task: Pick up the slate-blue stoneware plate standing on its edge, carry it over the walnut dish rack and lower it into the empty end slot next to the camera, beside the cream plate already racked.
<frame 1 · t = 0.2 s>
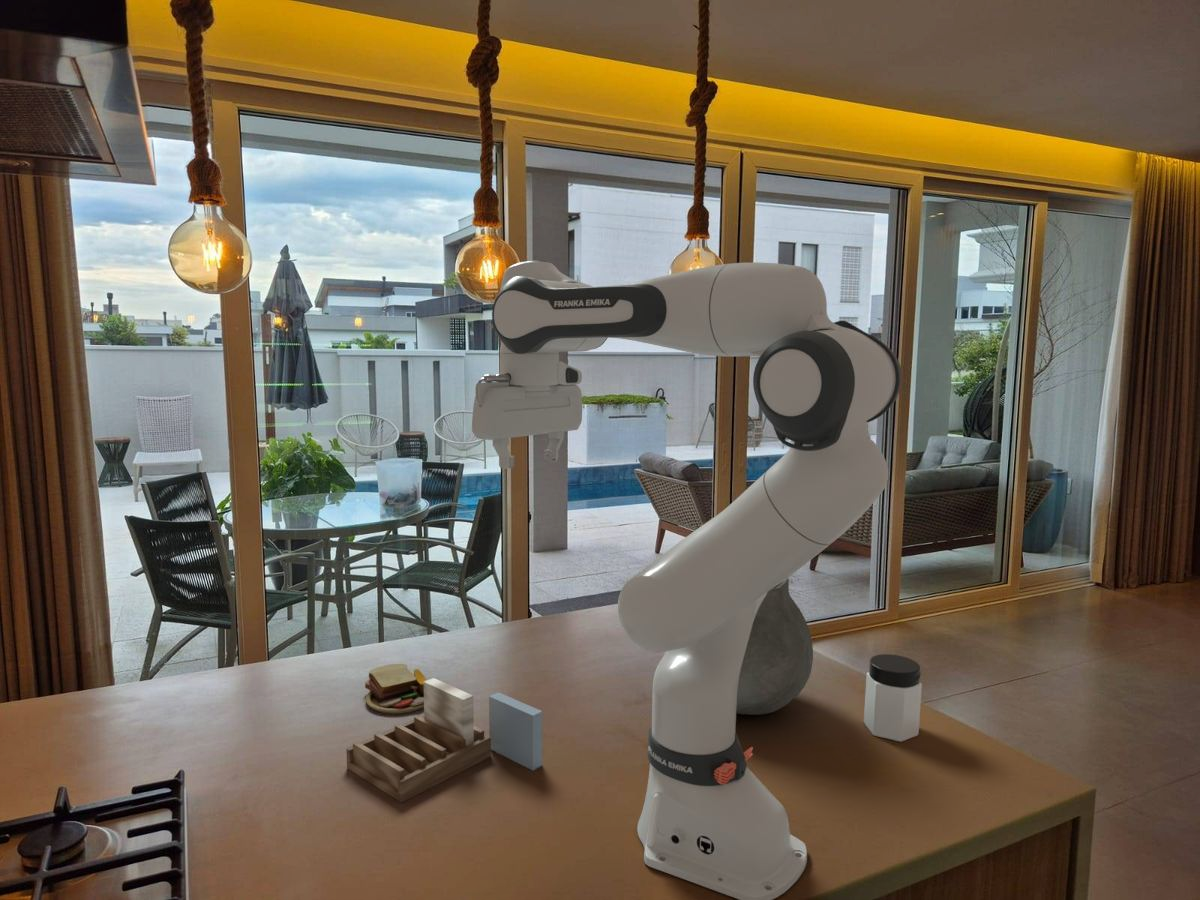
hand: (529, 464, 119), 47 cm above the counter, fingers open, 8 cm apart
ceramic pot: (741, 706, 144), on the counter
plate: (515, 757, 125), on the counter
rack: (420, 762, 123), on the counter
toy sandwich meal: (398, 701, 145), on the counter
jar: (890, 730, 135), on the counter
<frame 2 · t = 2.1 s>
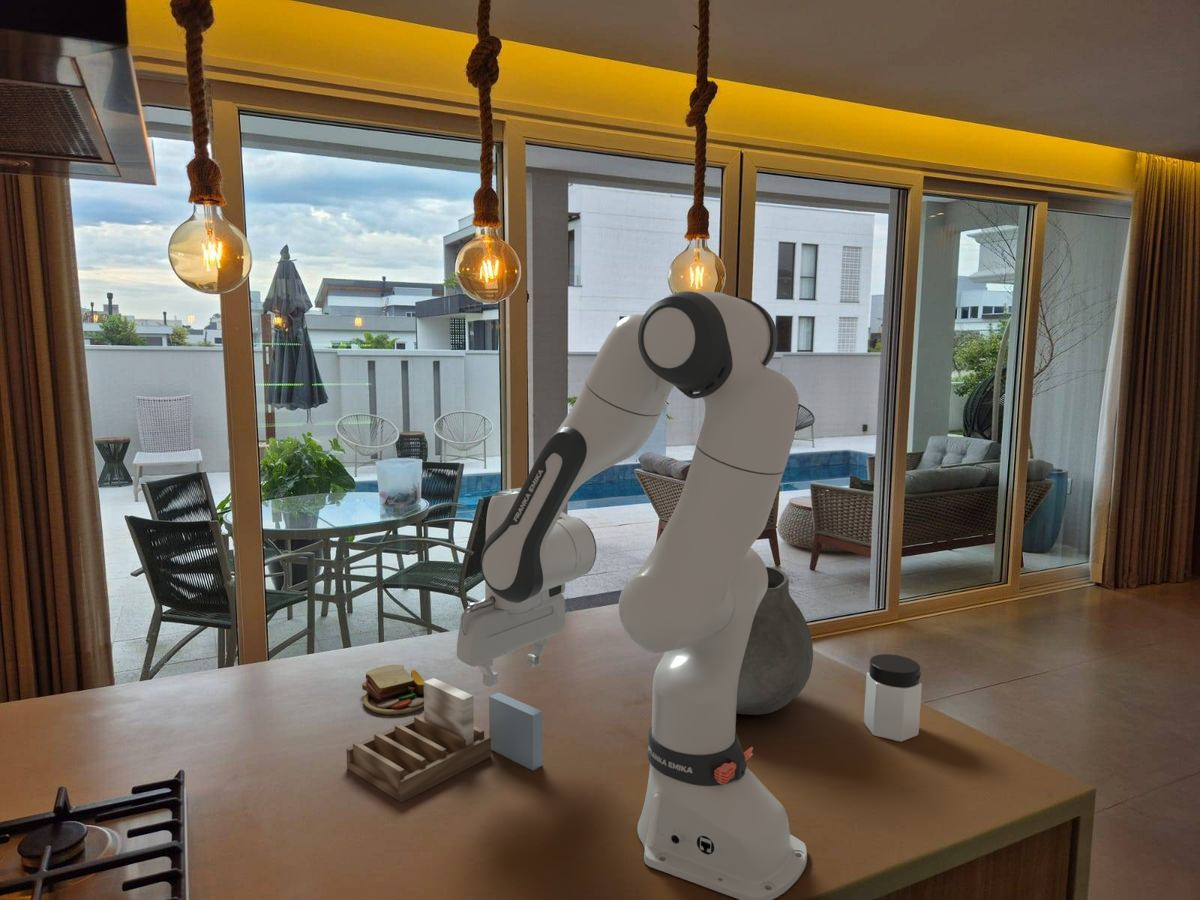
hand: (512, 674, 123), 14 cm above the counter, fingers open, 8 cm apart
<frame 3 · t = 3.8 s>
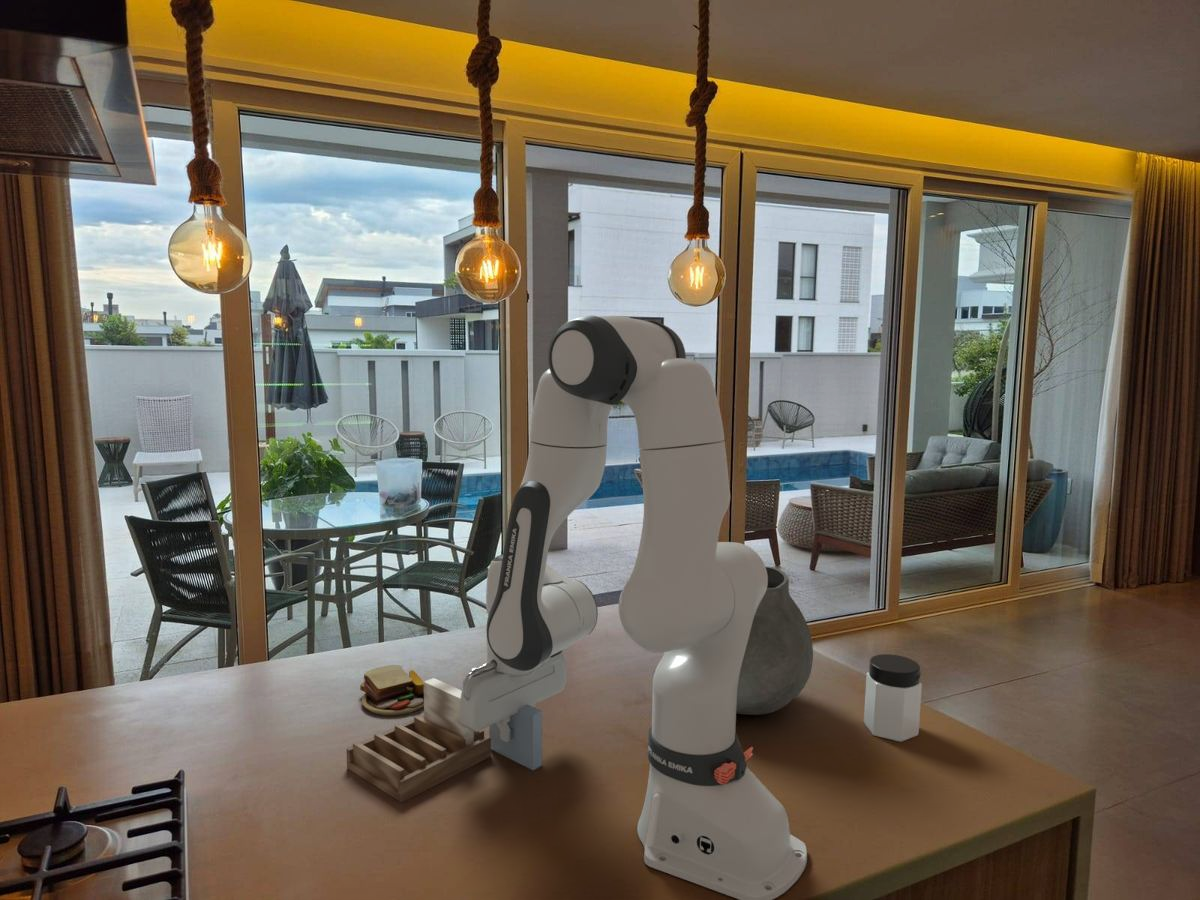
hand: (515, 735, 125), 4 cm above the counter, fingers closed on plate, 2 cm apart
plate: (515, 756, 125), on the counter, touching gripper
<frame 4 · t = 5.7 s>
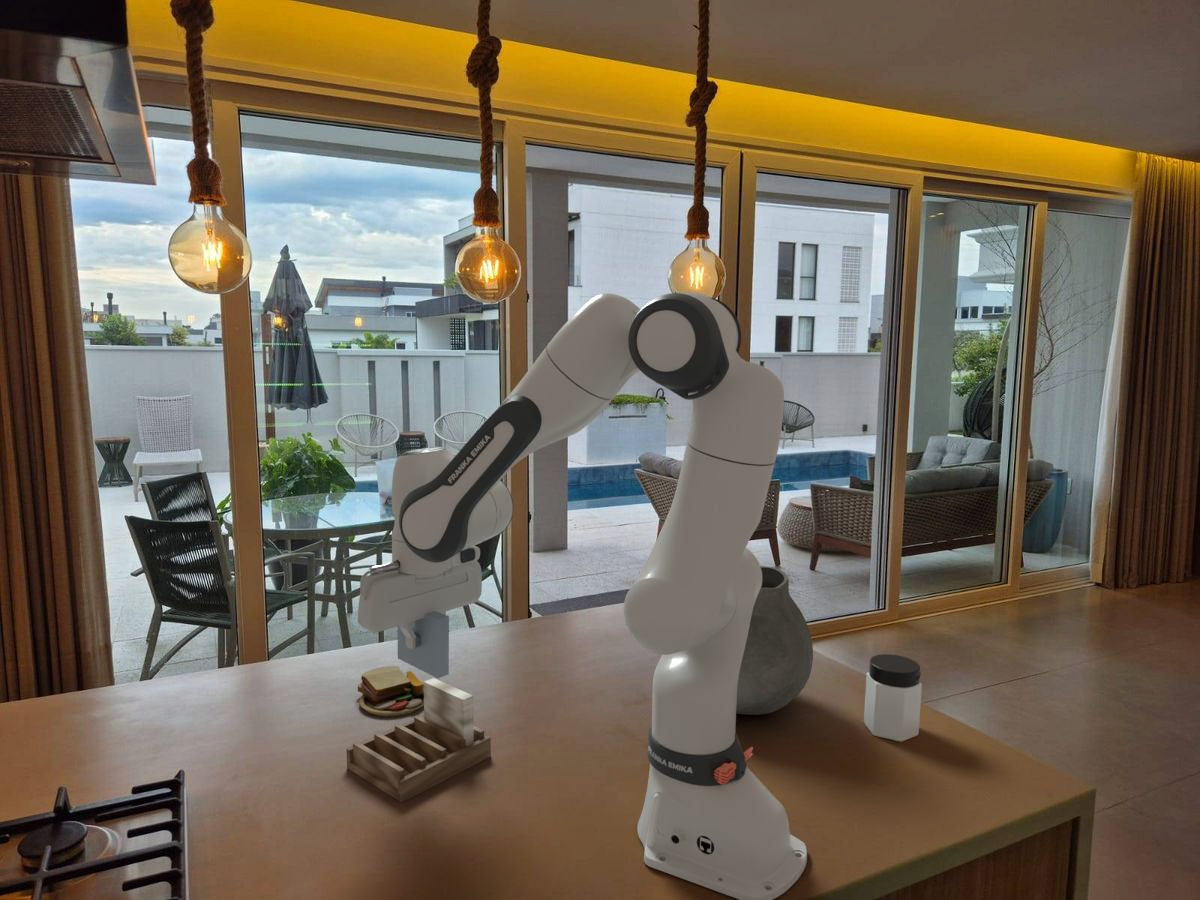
hand: (422, 643, 118), 20 cm above the counter, fingers closed on plate
plate: (422, 666, 119), point 17 cm above the counter, touching gripper
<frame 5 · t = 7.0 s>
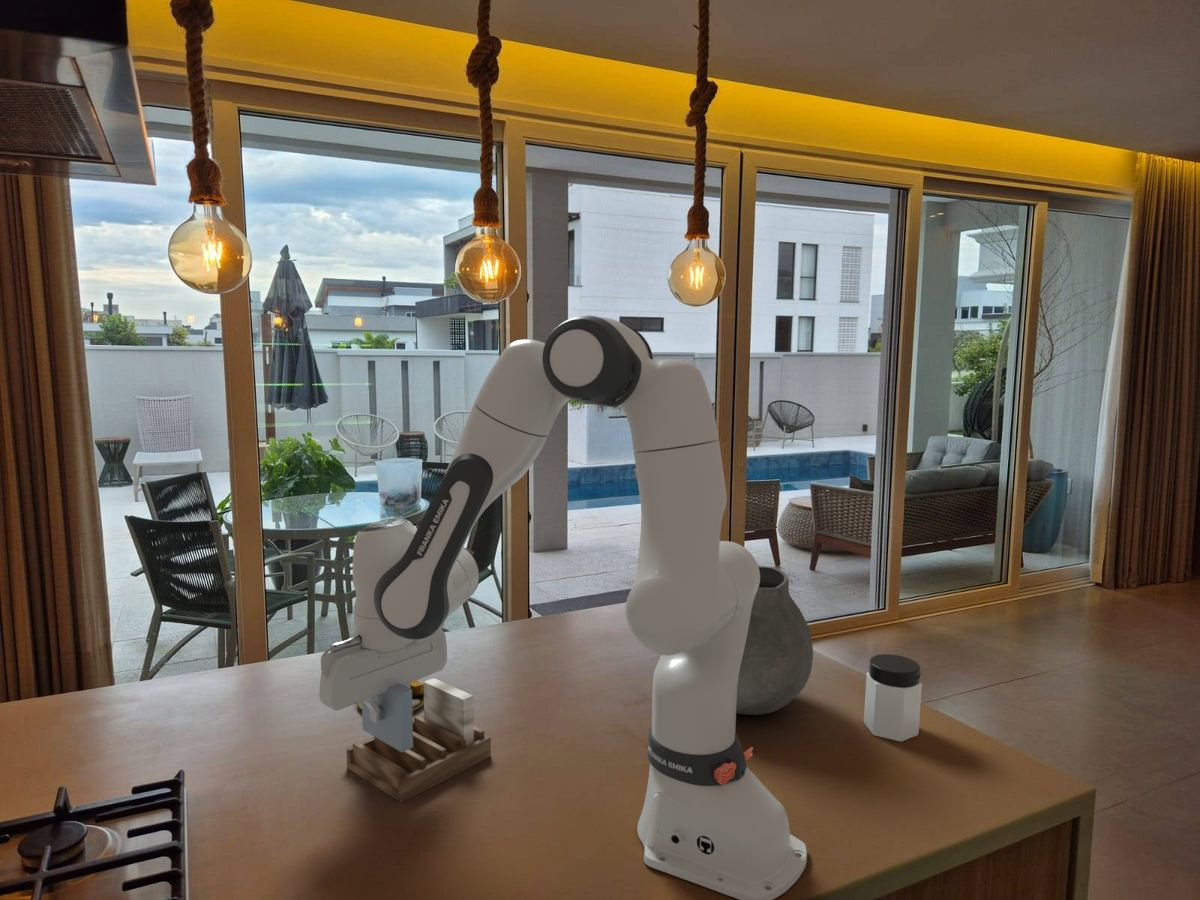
hand: (387, 715, 118), 10 cm above the counter, fingers closed on plate
plate: (387, 738, 118), point 6 cm above the counter, touching gripper
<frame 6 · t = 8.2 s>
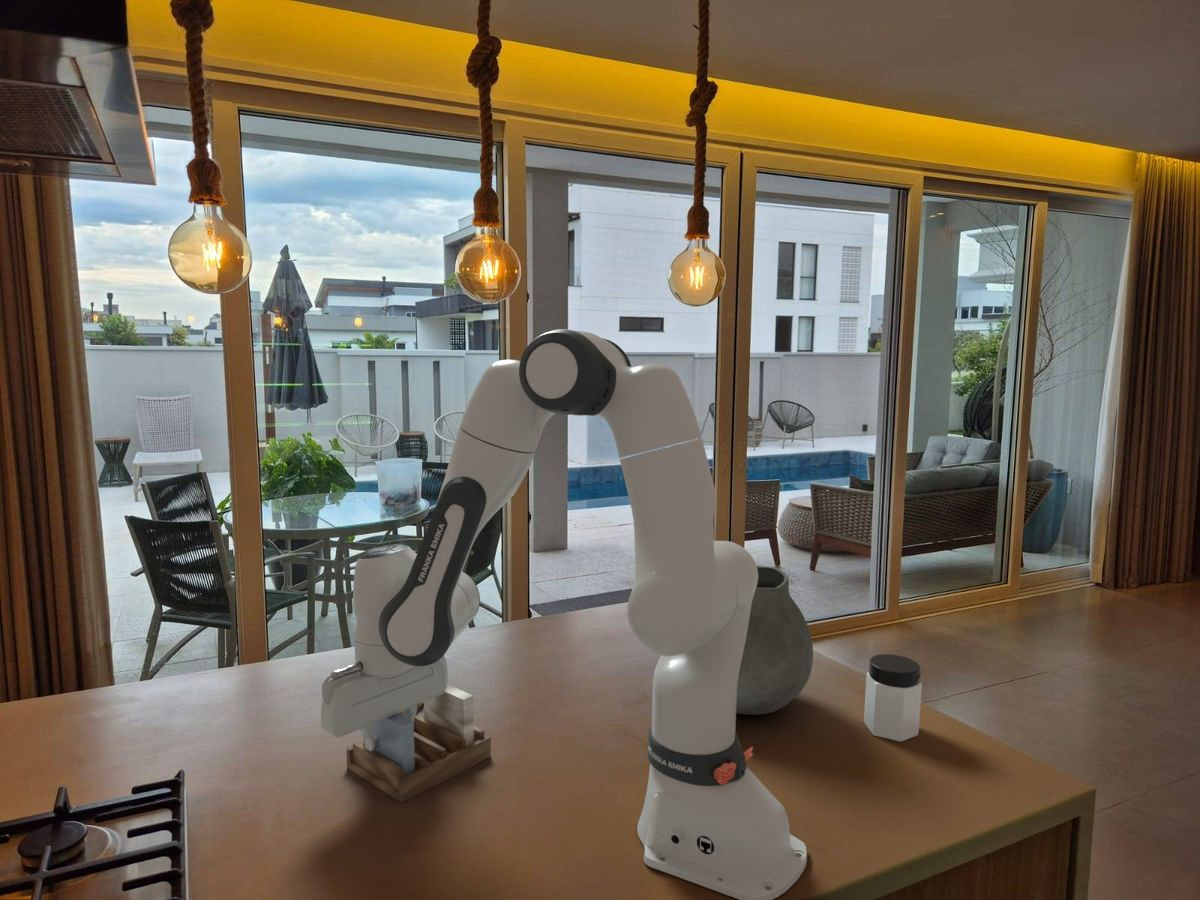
hand: (388, 741, 118), 6 cm above the counter, fingers open, 4 cm apart
plate: (389, 769, 119), point 1 cm above the counter, touching rack
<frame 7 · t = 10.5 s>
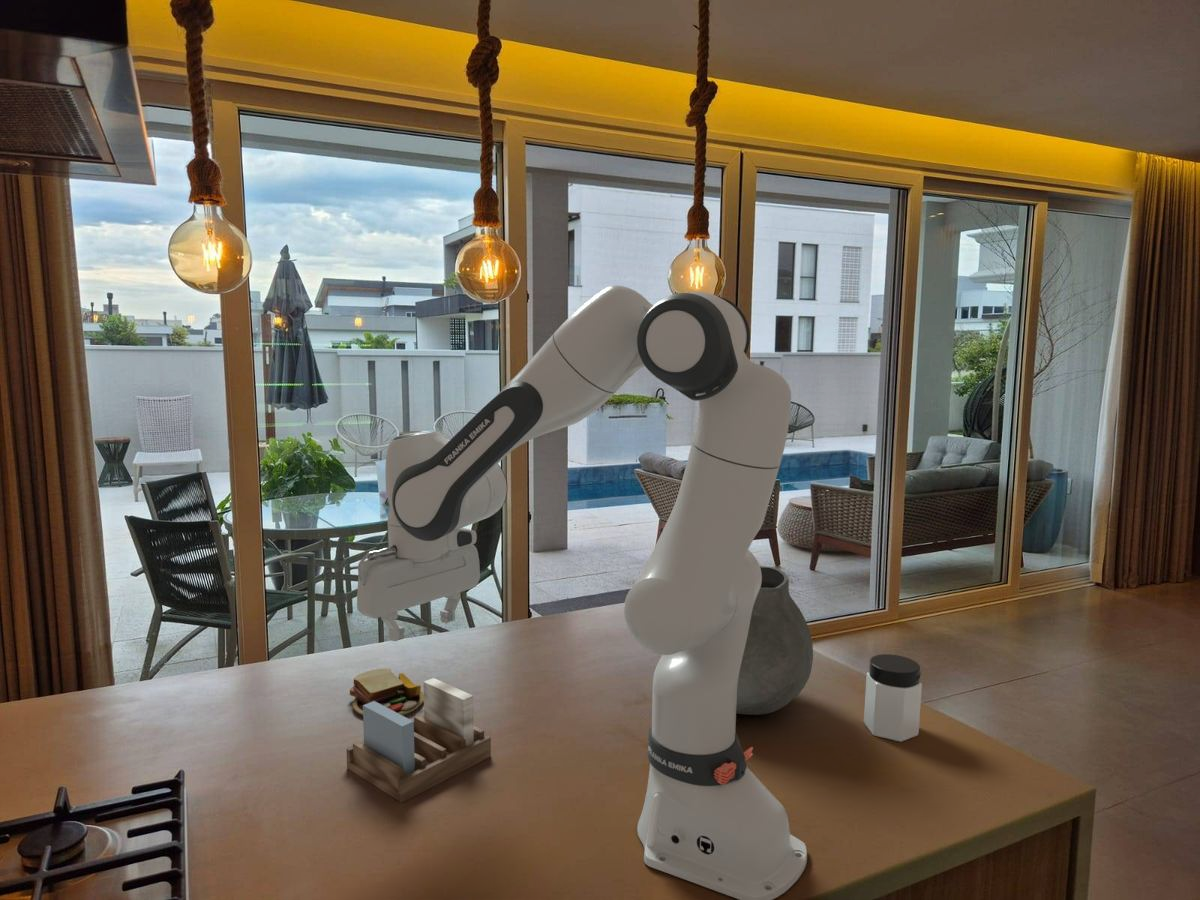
hand: (423, 630, 118), 23 cm above the counter, fingers open, 8 cm apart
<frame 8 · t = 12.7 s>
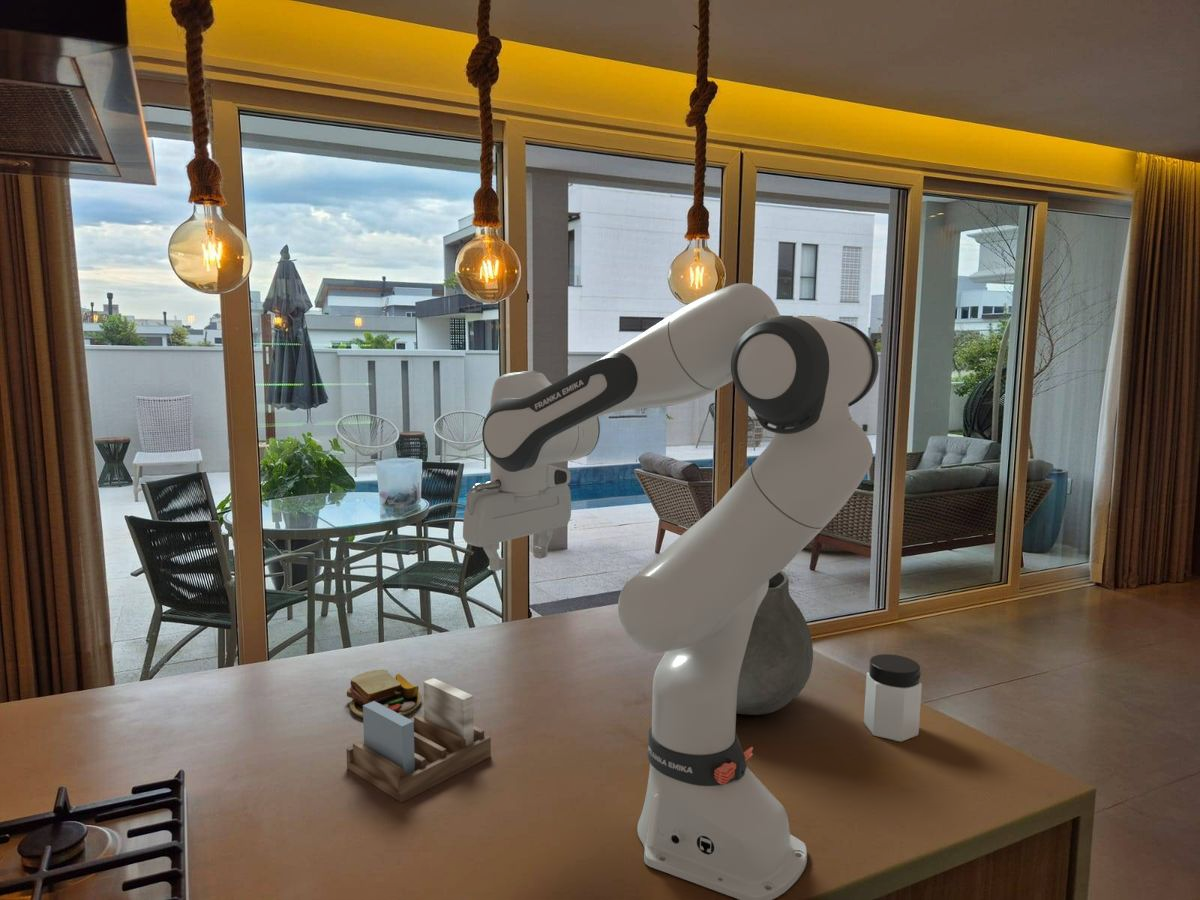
hand: (519, 563, 123), 31 cm above the counter, fingers open, 8 cm apart
at the end: plate inside the target area on the rack (0.1 cm from its centre), point 1.2 cm above the rack's base; plate tilted 0°; the gripper is holding nothing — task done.
